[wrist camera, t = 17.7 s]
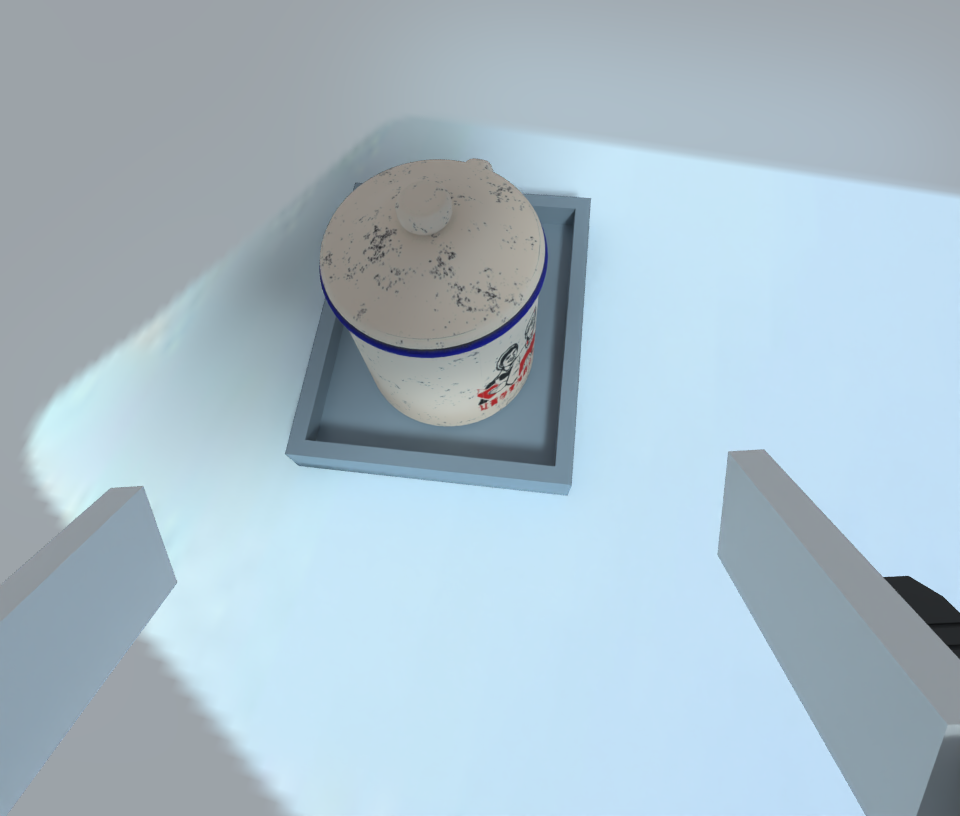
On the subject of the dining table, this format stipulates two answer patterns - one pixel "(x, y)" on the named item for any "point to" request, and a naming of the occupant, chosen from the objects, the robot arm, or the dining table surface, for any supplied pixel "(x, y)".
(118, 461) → the dining table surface
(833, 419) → the dining table surface
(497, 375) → the teacup with lid
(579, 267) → the slate tray
